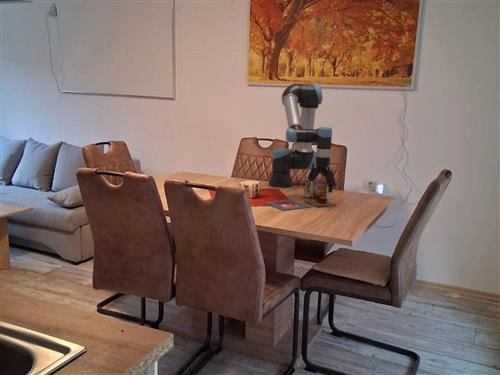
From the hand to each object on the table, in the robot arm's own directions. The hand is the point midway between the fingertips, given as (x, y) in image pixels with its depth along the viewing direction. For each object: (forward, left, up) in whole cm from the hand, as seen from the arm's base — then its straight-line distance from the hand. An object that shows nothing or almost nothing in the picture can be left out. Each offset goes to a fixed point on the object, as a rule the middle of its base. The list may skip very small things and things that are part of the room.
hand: (320, 195), depth 253 cm
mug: (-17, +6, -5) cm, 19 cm away
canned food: (0, 0, -4) cm, 4 cm away
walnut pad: (0, 0, -5) cm, 5 cm away
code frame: (-5, -18, -5) cm, 19 cm away
